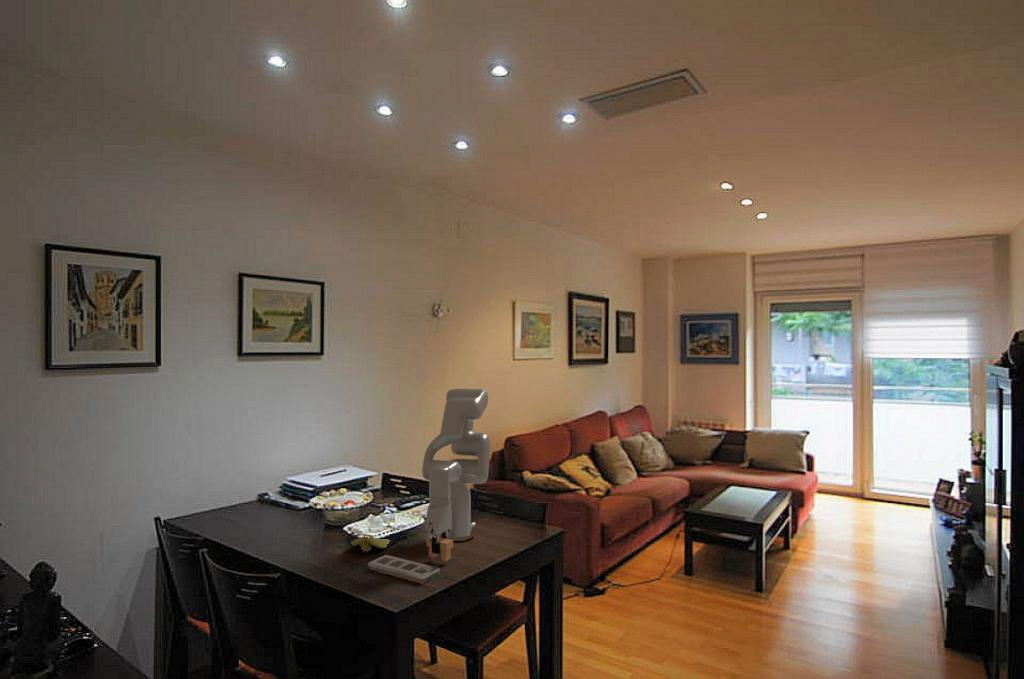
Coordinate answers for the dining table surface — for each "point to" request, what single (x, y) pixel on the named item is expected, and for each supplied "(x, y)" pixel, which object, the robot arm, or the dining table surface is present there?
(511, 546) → the dining table surface
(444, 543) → the tan rectangular block
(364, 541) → the banana bunch
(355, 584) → the dining table surface
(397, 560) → the grey slotted tray
